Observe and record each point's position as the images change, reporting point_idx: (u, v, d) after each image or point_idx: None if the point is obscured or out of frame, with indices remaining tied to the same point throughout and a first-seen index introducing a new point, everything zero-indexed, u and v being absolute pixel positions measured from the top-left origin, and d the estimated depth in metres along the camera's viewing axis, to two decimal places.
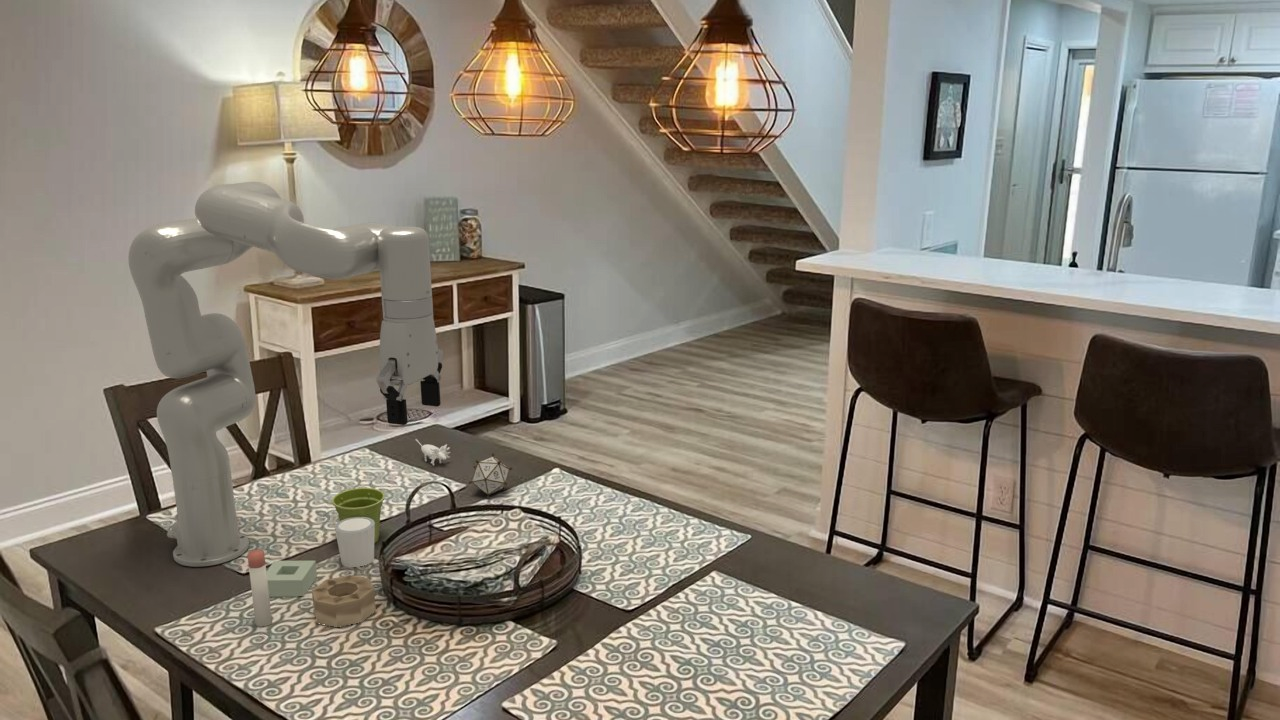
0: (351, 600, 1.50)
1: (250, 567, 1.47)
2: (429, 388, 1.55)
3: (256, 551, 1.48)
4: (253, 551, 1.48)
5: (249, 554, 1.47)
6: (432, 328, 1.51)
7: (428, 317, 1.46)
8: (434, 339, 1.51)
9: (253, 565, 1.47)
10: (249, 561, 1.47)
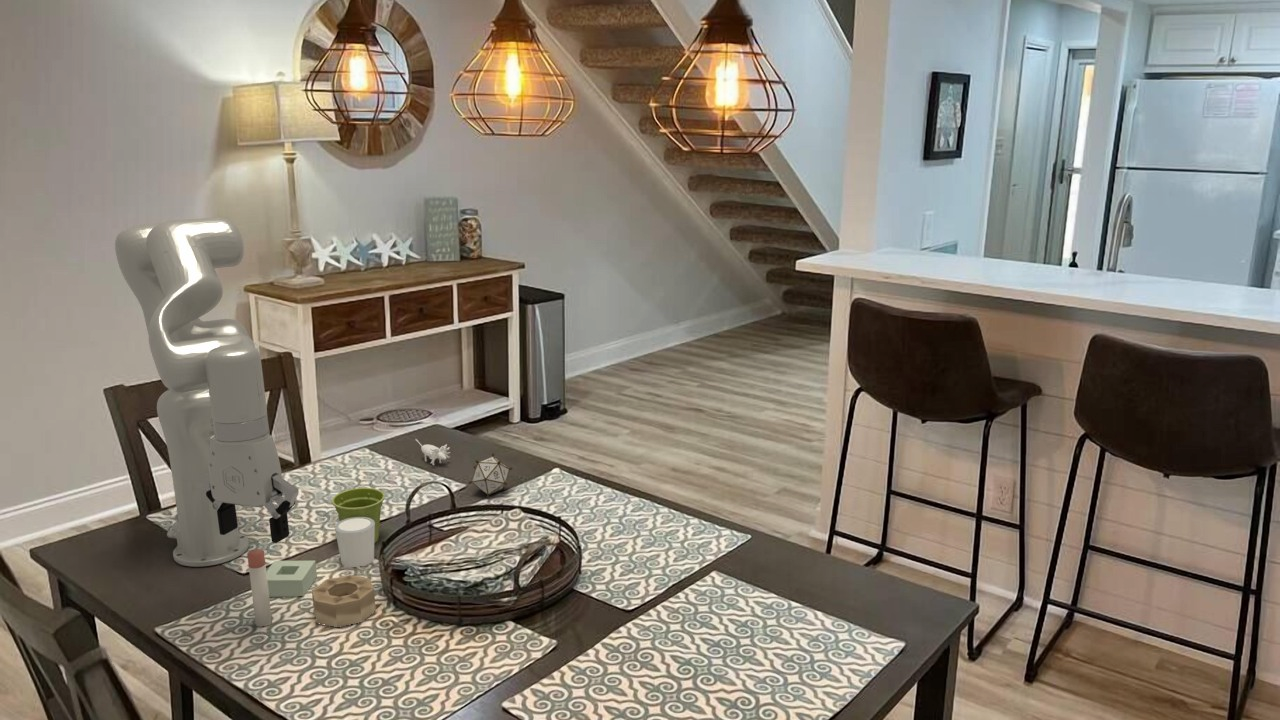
0: (351, 600, 1.50)
1: (250, 567, 1.47)
2: (229, 513, 1.47)
3: (256, 551, 1.48)
4: (253, 551, 1.48)
5: (249, 554, 1.47)
6: None
7: None
8: None
9: (253, 565, 1.47)
10: (249, 561, 1.47)
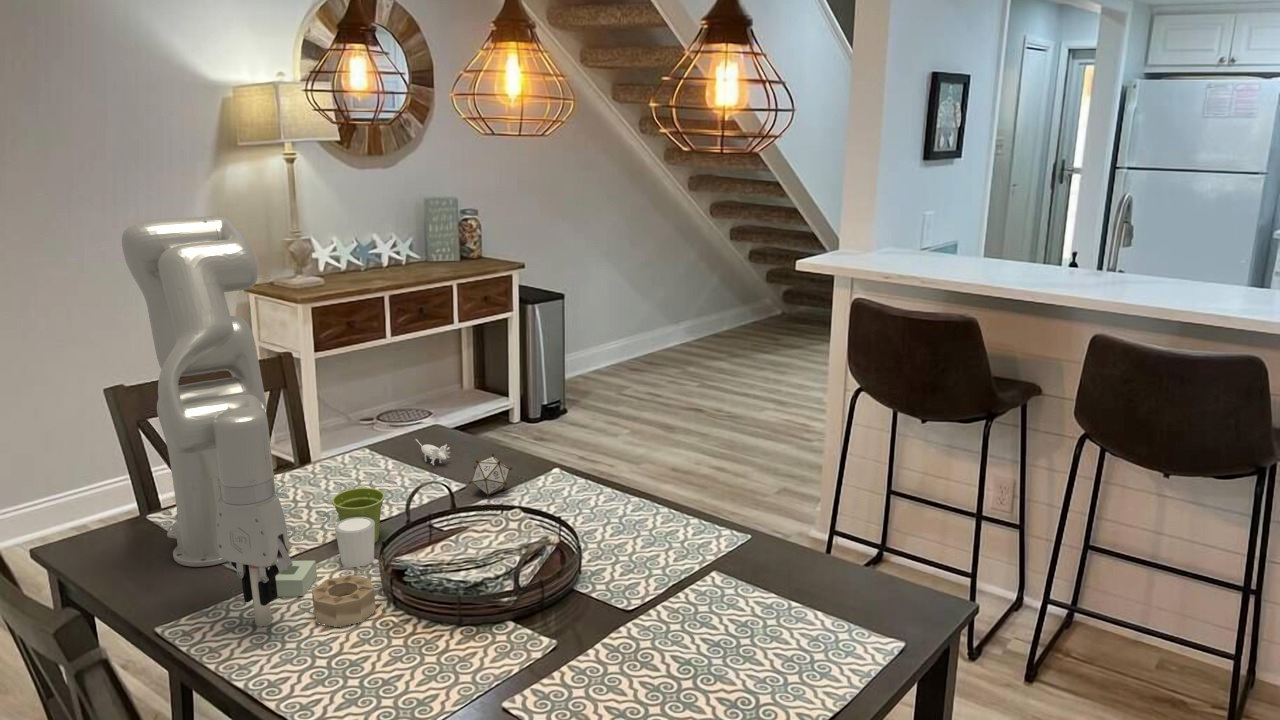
0: (351, 600, 1.50)
1: (250, 567, 1.47)
2: None
3: None
4: None
5: None
6: None
7: None
8: None
9: None
10: None
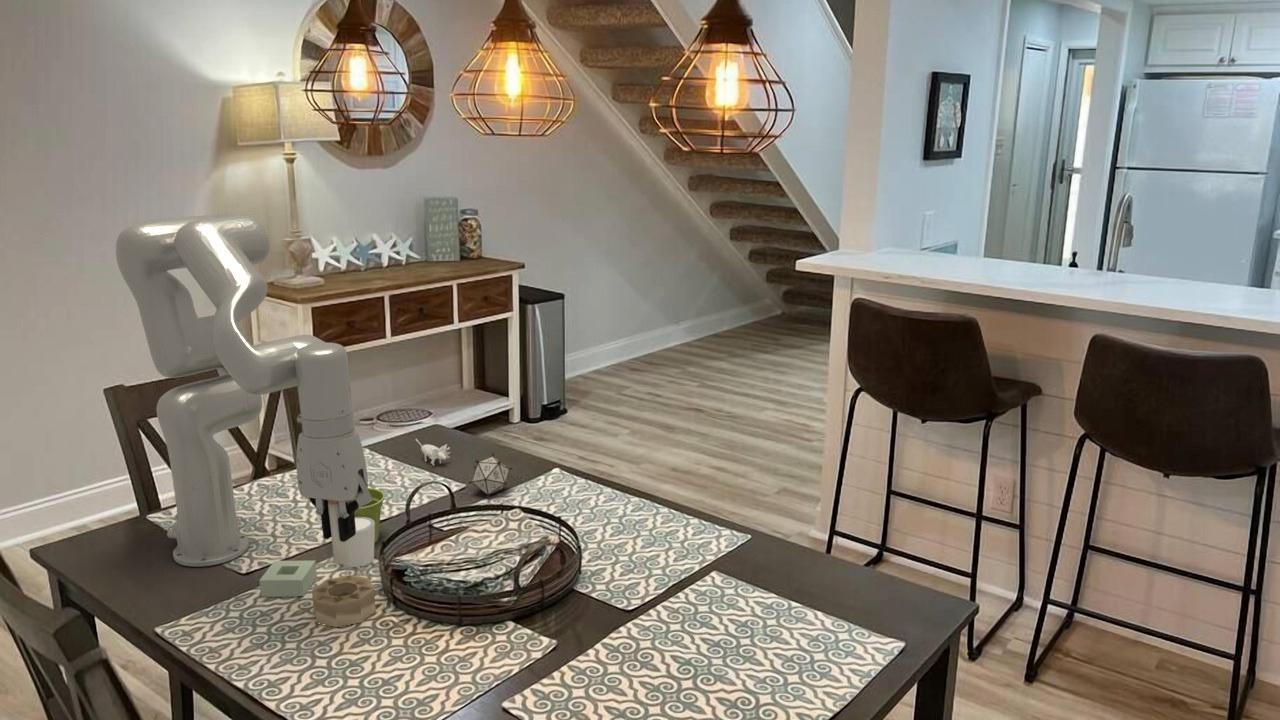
0: (351, 600, 1.50)
1: (329, 503, 1.48)
2: None
3: None
4: None
5: None
6: None
7: None
8: None
9: (332, 501, 1.48)
10: None
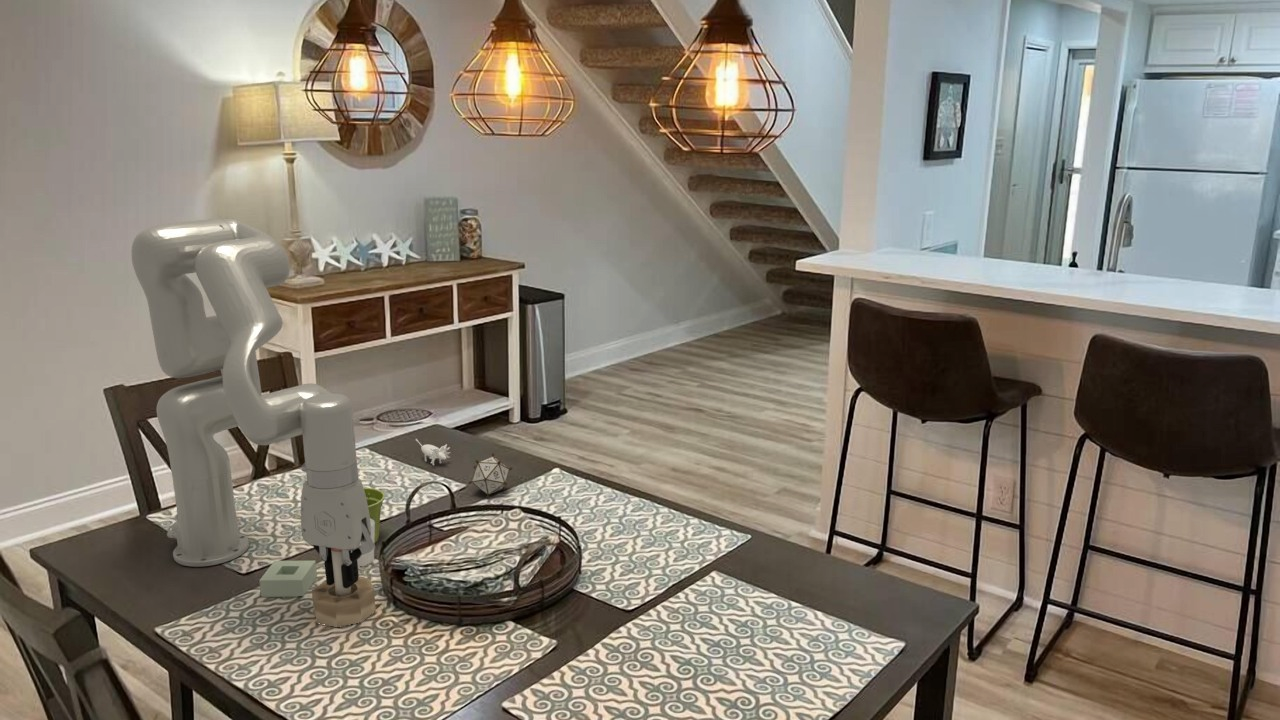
0: (351, 600, 1.50)
1: (333, 551, 1.50)
2: None
3: None
4: None
5: None
6: None
7: None
8: None
9: (336, 549, 1.50)
10: None
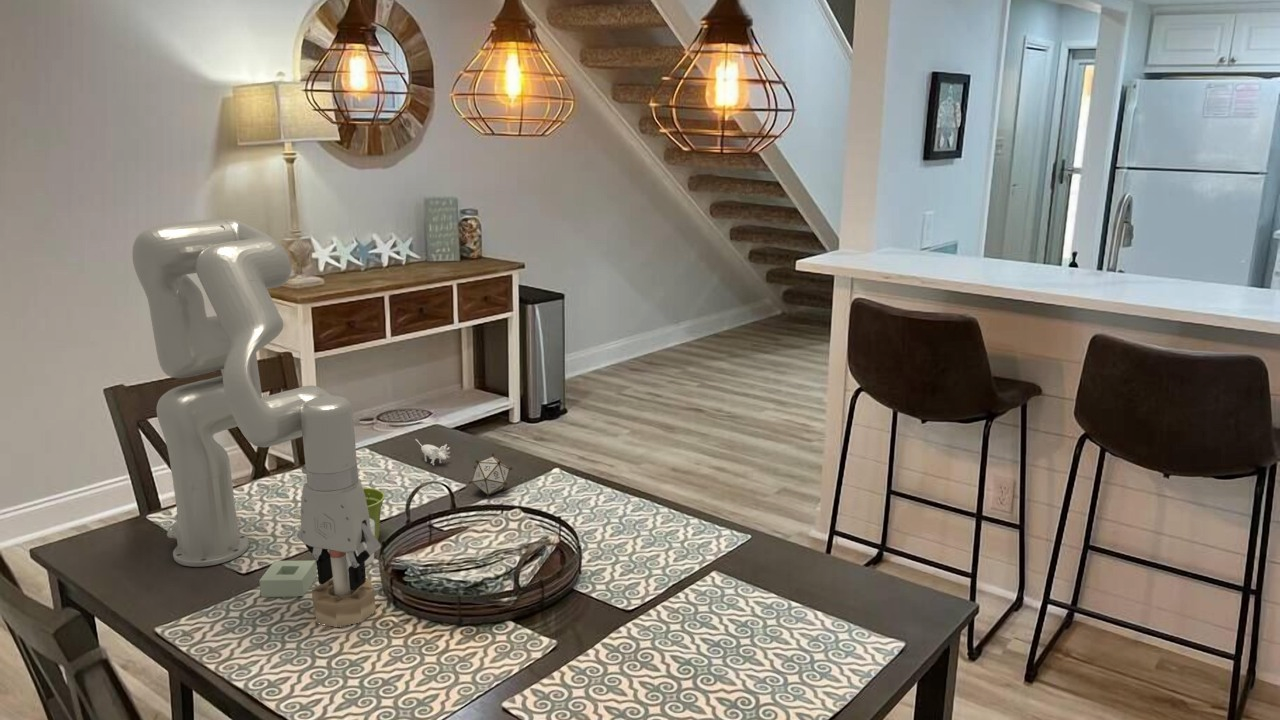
0: (351, 600, 1.50)
1: (332, 557, 1.50)
2: (327, 563, 1.53)
3: None
4: None
5: None
6: None
7: None
8: None
9: (335, 555, 1.50)
10: (331, 551, 1.50)
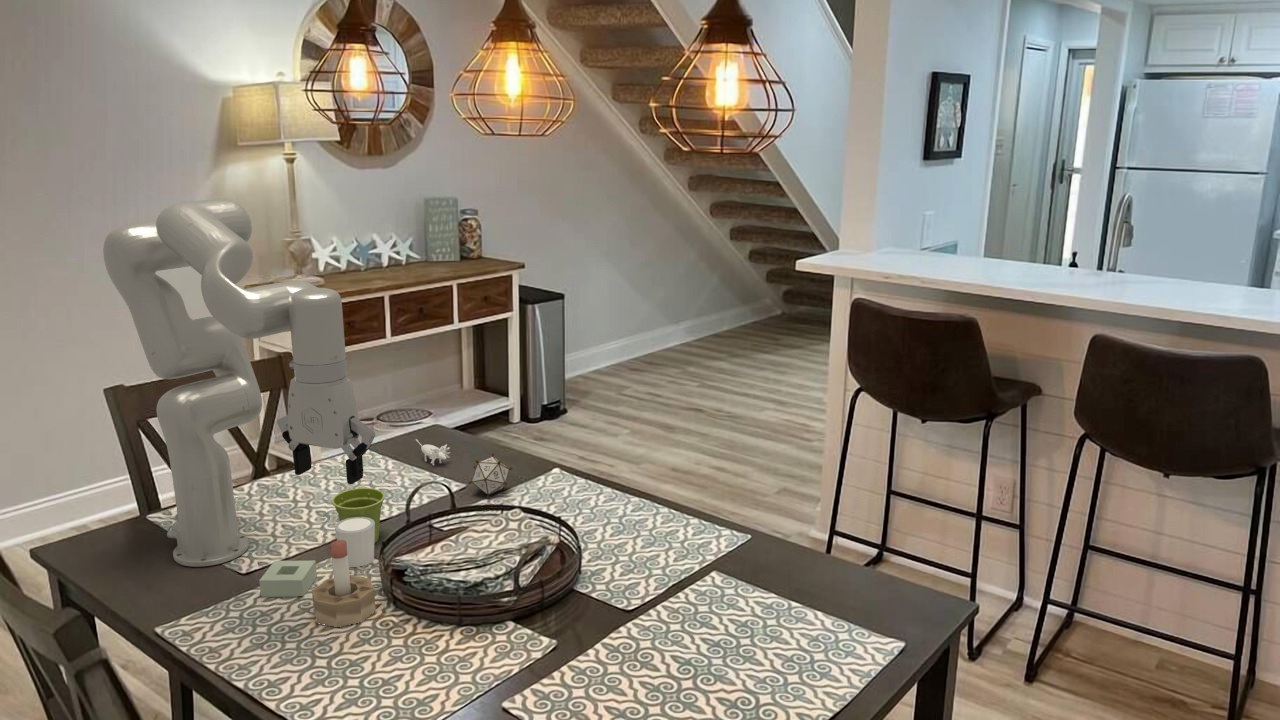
0: (351, 600, 1.50)
1: (333, 557, 1.50)
2: (304, 454, 1.50)
3: (338, 542, 1.51)
4: (336, 542, 1.51)
5: (332, 545, 1.50)
6: None
7: None
8: None
9: (336, 555, 1.50)
10: (332, 551, 1.50)
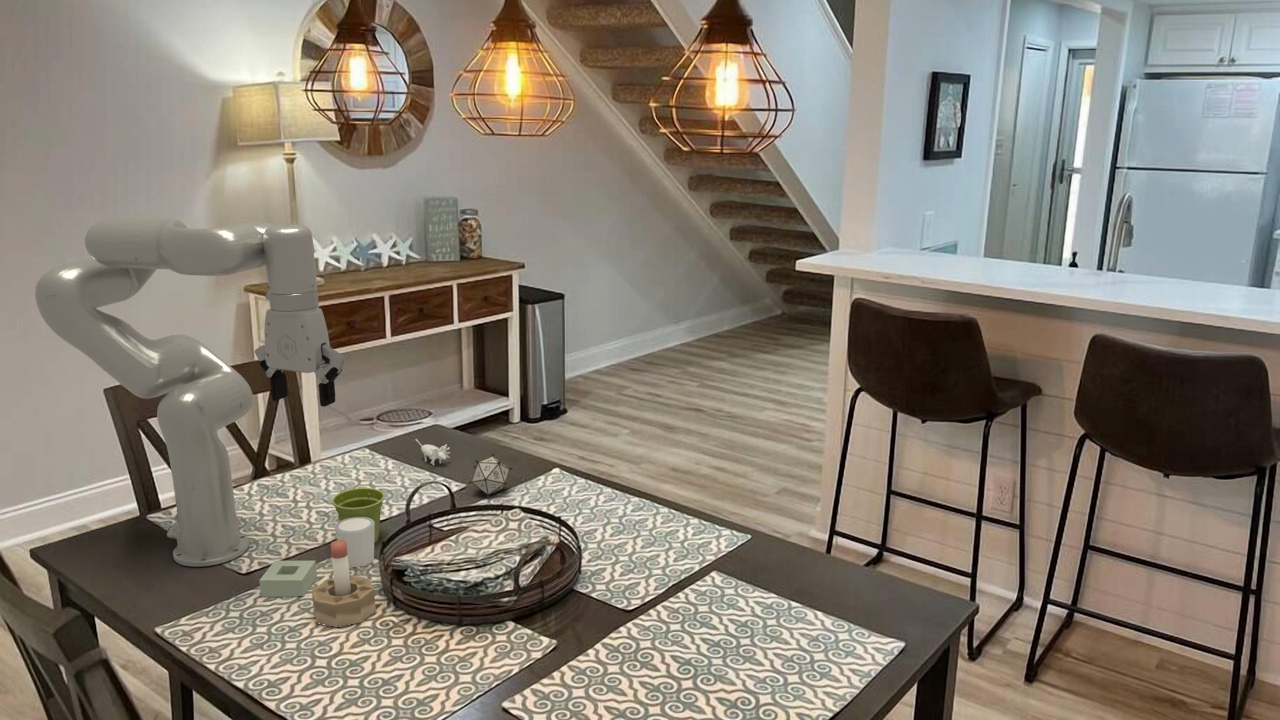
0: (351, 600, 1.50)
1: (333, 557, 1.50)
2: (280, 381, 1.62)
3: (339, 542, 1.51)
4: (336, 542, 1.51)
5: (332, 544, 1.50)
6: None
7: None
8: None
9: (336, 555, 1.50)
10: (332, 551, 1.50)
